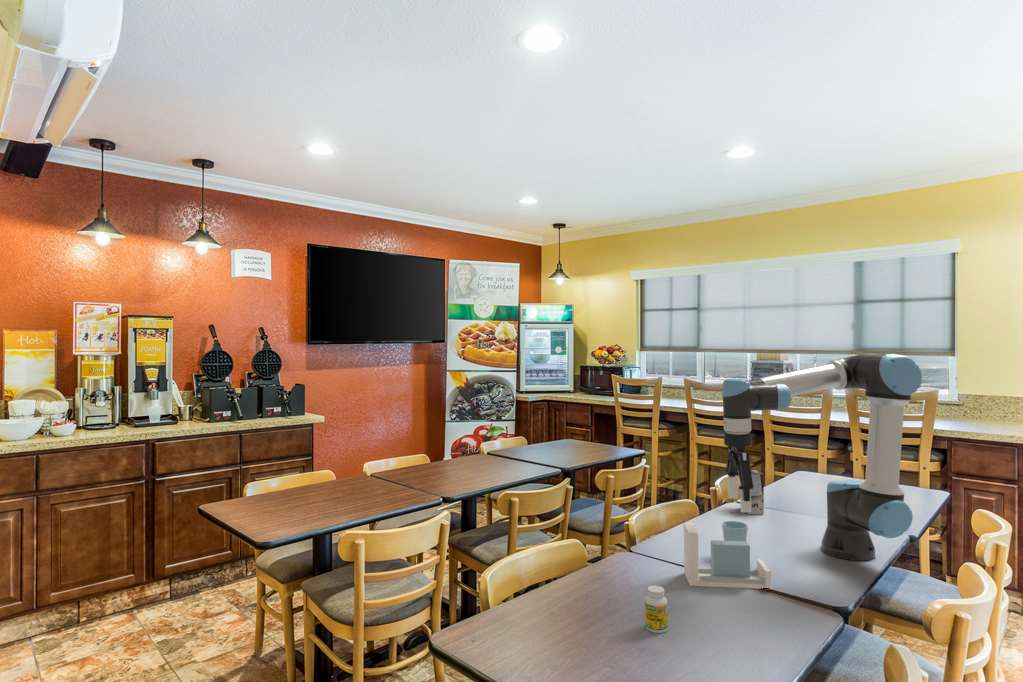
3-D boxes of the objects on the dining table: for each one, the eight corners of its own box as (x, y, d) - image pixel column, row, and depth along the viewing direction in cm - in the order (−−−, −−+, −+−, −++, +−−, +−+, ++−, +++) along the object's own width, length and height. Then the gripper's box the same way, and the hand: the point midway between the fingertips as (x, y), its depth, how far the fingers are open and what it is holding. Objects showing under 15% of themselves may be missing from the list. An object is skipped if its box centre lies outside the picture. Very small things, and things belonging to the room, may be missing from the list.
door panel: (746, 575, 170) (746, 541, 170) (750, 580, 166) (749, 545, 166) (711, 574, 171) (710, 540, 171) (713, 579, 168) (713, 544, 168)
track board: (761, 576, 172) (761, 525, 172) (771, 589, 163) (770, 535, 163) (684, 573, 175) (683, 522, 175) (689, 585, 166) (689, 532, 166)
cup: (753, 559, 185) (753, 526, 185) (735, 563, 182) (734, 529, 182) (735, 551, 192) (735, 519, 192) (717, 555, 189) (716, 523, 189)
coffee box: (764, 515, 230) (764, 474, 230) (747, 514, 231) (747, 473, 231) (758, 508, 239) (757, 468, 239) (741, 507, 240) (741, 468, 240)
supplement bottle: (669, 624, 144) (668, 586, 144) (666, 635, 139) (666, 595, 139) (646, 621, 146) (646, 582, 146) (643, 631, 141) (643, 591, 141)
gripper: (714, 425, 183) (716, 493, 184) (735, 440, 159) (737, 518, 159) (739, 425, 182) (741, 492, 183) (764, 439, 158) (766, 518, 158)
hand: (739, 504), depth 171 cm, fingers open, 13 cm apart
